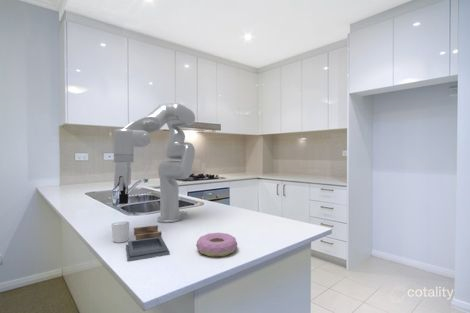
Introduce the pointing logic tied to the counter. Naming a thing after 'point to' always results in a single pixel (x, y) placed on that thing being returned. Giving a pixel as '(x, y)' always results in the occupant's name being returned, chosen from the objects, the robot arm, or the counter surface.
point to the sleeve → (147, 232)
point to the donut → (216, 244)
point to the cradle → (146, 248)
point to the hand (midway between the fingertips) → (123, 203)
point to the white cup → (120, 231)
